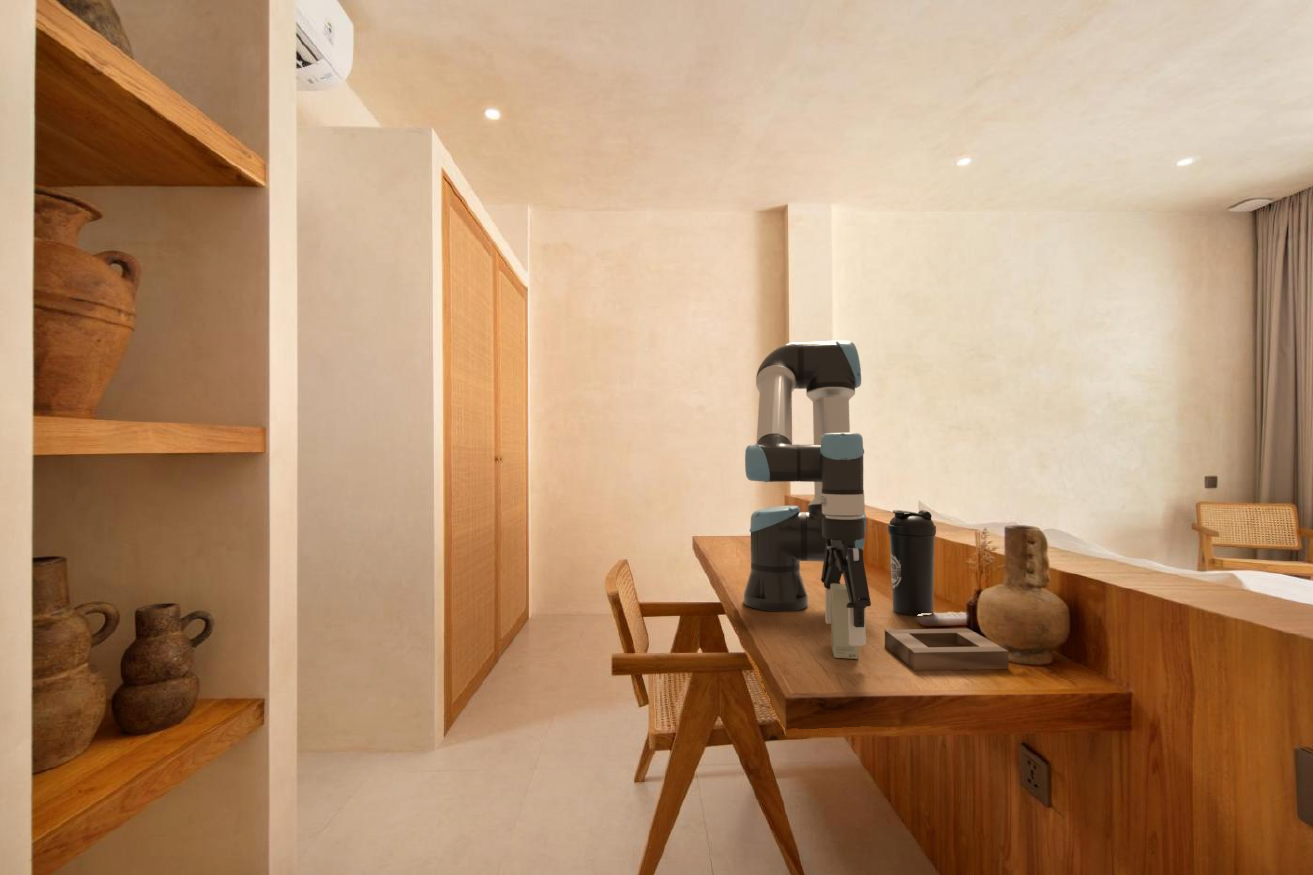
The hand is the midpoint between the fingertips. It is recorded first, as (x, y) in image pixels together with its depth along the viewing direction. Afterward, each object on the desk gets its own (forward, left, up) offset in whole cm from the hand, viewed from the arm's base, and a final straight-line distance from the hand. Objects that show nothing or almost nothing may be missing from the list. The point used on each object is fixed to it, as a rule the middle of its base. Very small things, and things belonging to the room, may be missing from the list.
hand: (844, 633), depth 113 cm
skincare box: (0, 0, -4) cm, 4 cm away
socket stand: (+2, +17, -4) cm, 18 cm away
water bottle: (-28, +25, -4) cm, 38 cm away
